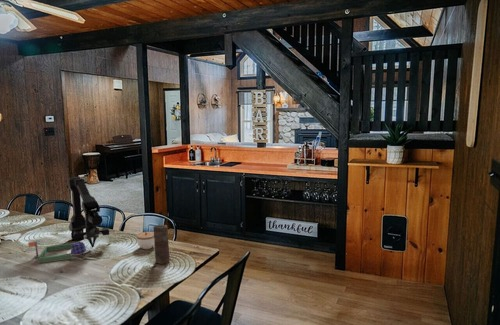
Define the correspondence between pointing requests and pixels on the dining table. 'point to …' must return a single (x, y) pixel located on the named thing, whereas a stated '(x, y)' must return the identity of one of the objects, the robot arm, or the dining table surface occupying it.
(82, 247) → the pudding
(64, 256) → the frame
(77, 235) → the robot arm
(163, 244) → the candle
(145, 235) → the lidded jar
